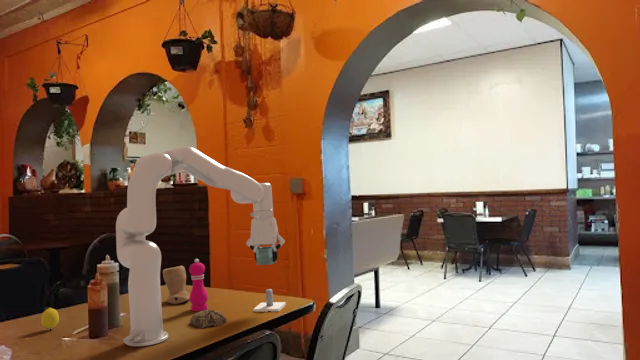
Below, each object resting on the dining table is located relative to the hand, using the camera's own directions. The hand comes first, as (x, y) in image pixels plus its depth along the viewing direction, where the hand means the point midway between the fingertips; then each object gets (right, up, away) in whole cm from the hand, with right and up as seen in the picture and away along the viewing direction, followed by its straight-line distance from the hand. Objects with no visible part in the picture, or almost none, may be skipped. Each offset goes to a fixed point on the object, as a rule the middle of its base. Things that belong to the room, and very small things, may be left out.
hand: (266, 261), depth 181 cm
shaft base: (+1, -18, 0) cm, 18 cm away
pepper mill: (-27, -20, +5) cm, 34 cm away
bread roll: (-18, -19, -15) cm, 31 cm away
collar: (0, -1, 0) cm, 1 cm away
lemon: (-76, -23, -12) cm, 80 cm away
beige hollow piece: (-41, -21, +23) cm, 52 cm away
